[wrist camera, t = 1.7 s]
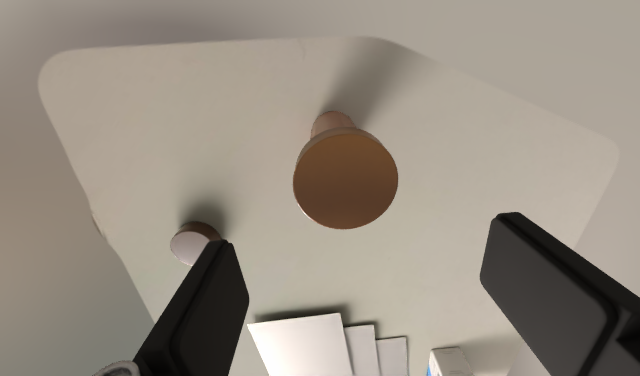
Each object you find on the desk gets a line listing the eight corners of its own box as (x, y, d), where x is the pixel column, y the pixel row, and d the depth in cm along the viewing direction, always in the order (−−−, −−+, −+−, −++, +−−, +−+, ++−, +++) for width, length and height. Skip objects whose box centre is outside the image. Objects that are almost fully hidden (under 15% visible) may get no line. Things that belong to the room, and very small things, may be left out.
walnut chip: (172, 223, 31) (163, 233, 29) (214, 219, 30) (208, 229, 29) (187, 256, 33) (179, 268, 31) (226, 253, 33) (220, 264, 31)
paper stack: (404, 300, 36) (406, 304, 36) (407, 393, 47) (409, 397, 46) (248, 320, 38) (246, 324, 37) (285, 405, 49) (285, 410, 48)
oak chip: (288, 132, 15) (284, 140, 13) (391, 120, 15) (400, 127, 13) (302, 218, 17) (300, 234, 16) (389, 210, 17) (397, 225, 15)
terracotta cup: (309, 113, 25) (303, 143, 15) (353, 108, 25) (377, 136, 15) (314, 155, 27) (312, 207, 17) (355, 151, 27) (377, 200, 17)
